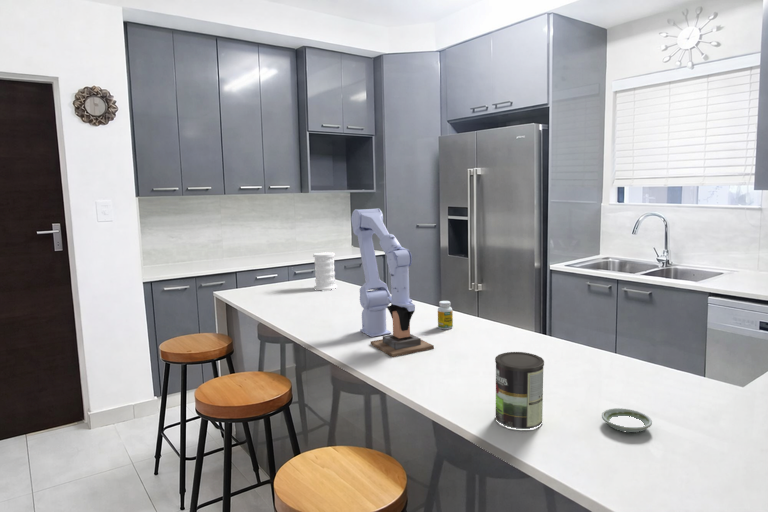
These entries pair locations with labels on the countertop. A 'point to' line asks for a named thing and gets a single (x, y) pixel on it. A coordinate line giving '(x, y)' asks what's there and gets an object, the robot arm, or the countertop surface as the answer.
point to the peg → (399, 327)
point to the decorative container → (324, 271)
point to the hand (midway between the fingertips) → (401, 328)
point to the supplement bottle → (445, 315)
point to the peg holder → (401, 345)
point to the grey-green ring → (626, 412)
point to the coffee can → (519, 389)
